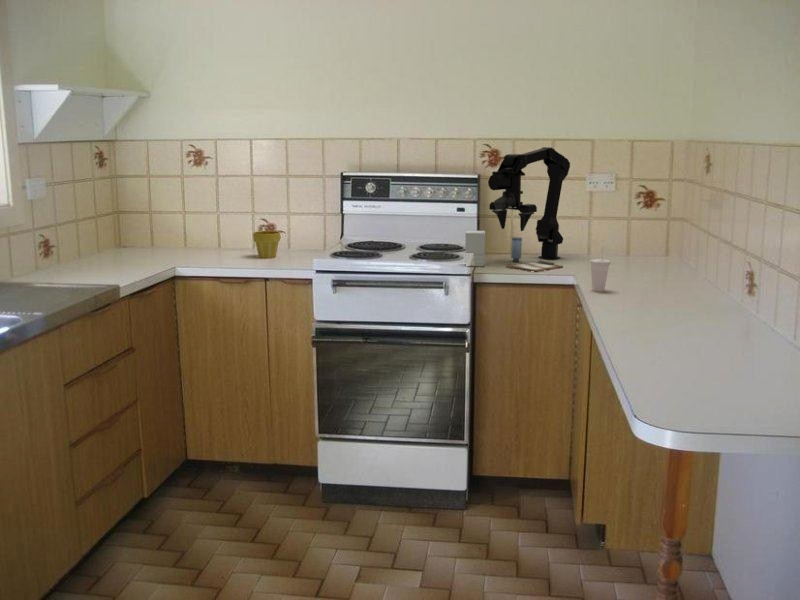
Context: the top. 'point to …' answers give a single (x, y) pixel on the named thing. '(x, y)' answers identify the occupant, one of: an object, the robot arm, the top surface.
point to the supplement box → (476, 246)
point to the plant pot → (266, 243)
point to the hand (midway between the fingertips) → (512, 229)
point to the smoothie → (599, 273)
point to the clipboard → (535, 266)
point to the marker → (516, 248)
